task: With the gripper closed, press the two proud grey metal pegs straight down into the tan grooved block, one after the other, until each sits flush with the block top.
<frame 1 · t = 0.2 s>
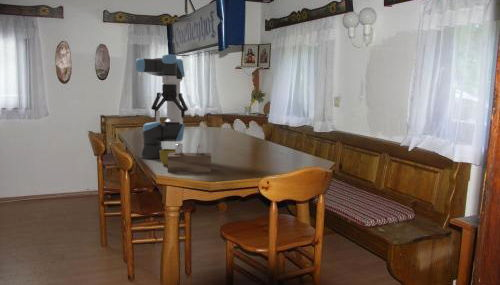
hand: (169, 123, 227), 27 cm above the table, fingers open, 13 cm apart
peg far: (200, 151, 238), point 11 cm above the table, slide at 6.0 cm
peg near: (179, 151, 236), point 11 cm above the table, slide at 6.0 cm
tan grooved block: (189, 169, 239), on the table
flower pot: (168, 164, 253), on the table
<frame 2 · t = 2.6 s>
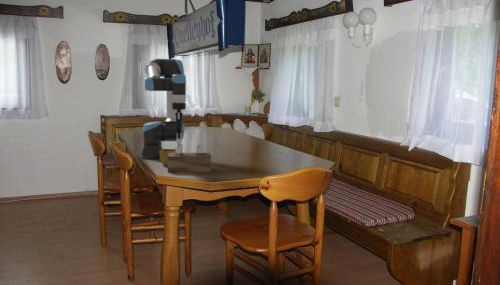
hand: (179, 144, 236), 15 cm above the table, fingers closed
peg near: (179, 152, 236), point 10 cm above the table, slide at 5.7 cm, touching gripper
everything else where it was.
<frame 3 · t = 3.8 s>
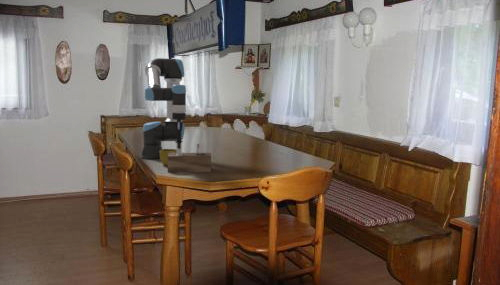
hand: (179, 153, 237), 9 cm above the table, fingers closed
peg near: (179, 162, 237), point 5 cm above the table, slide at 0.1 cm, touching gripper
everything else where it was.
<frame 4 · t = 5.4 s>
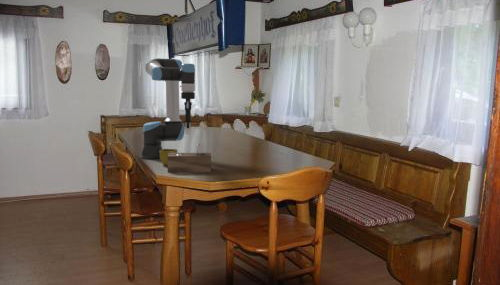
hand: (188, 133, 235), 21 cm above the table, fingers closed
peg near: (179, 162, 237), point 5 cm above the table, slide at 0.0 cm
everything else where it was.
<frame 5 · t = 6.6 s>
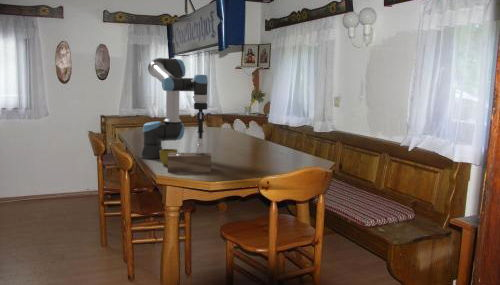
hand: (200, 143, 237), 15 cm above the table, fingers closed
peg far: (200, 152, 238), point 10 cm above the table, slide at 5.9 cm, touching gripper
everything else where it was.
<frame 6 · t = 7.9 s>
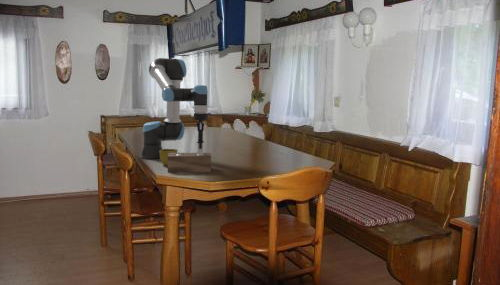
hand: (200, 154, 238), 9 cm above the table, fingers closed
peg far: (200, 162, 239), point 5 cm above the table, slide at 0.1 cm, touching gripper
everything else where it was.
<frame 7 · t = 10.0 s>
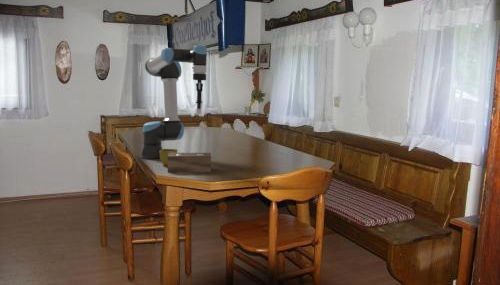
hand: (198, 114, 242), 31 cm above the table, fingers closed
peg far: (200, 162, 239), point 5 cm above the table, slide at 0.0 cm
everything else where it was.
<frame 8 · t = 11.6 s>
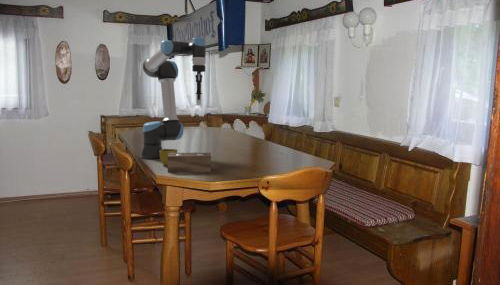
hand: (198, 105, 247), 36 cm above the table, fingers closed
nothing on the table moved.
at the end: peg near slide at 0.0 cm; peg far slide at 0.0 cm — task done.
